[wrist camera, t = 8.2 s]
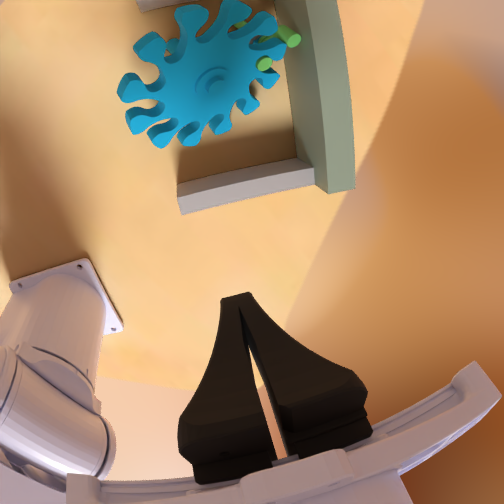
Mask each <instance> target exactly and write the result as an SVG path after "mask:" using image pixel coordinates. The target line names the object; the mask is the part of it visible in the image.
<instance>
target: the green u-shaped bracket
mask: <svg viewBox="0 0 504 504" xmlns="http://www.w3.org/2000/svg"><path fill="white" fill-rule="evenodd" d="M192 1H198V0H136V2H137V4H138V6H139V9H140V11H141V13H142V12H145V11H149V10H153V9H157V8H162V7H166V6H171V5H176V4H181V3H186V2H192ZM274 5H275V10H276V15H277V21H278V26H280V25H285V26H287V27H289V28H290V29H292V30H293V31H295V32H296V33H298V34H299V35H300V36H301V41H300V43H299V44H298V45H297V46H295V47H292V48H290V47H288V46H287V47H286V51H285V54H284V62H285V69H286V75H287V82H288V89H289V96H290V104H291V111H292V119H293V127H294V136H295V144H296V154H297V158H294V159H288V160H282V161H277V162H272V163H267V164H262V165H257V166H252V167H247V168H242V169H238V170H233V171H229V172H224V173H220V174H216V175H212V176H207V177H203V178H199V179H195V180H191V181H187V182H183V183H180V184H177V200H178V204H179V208H180V211H181V215H185V214H188V213H192V212H196V211H200V210H204V209H208V208H212V207H216V206H220V205H224V204H228V203H233V202H237V201H241V200H245V199H250V198H254V197H258V196H263V195H267V194H272V193H276V192H281V191H286V190H290V189H295V188H300V187H305V186H310V185H316V186H318V187H319V188H321V189H322V190H323V191H325V192H326V193H327V194H331V193H336V192H341V191H346V190H351V189H355V154H354V134H353V119H352V106H351V95H350V85H349V76H348V68H347V60H346V53H345V46H344V39H343V33H342V27H341V21H340V16H339V11H338V5H337V1H336V0H274Z"/></svg>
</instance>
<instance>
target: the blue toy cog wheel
mask: <svg viewBox="0 0 504 504" xmlns="http://www.w3.org/2000/svg"><path fill="white" fill-rule="evenodd" d="M251 13H252V9H251V8H250V7H249V6H248V5H246V4H244V3H242V2H241V1H239V0H223V2H222V3H221V5H220V11H219V14H218V16H217V18H216V20H215V21H214V23H213V24H212V25H211V26H210V28H209V29H208V30H207V31H206V32H205V33H204V34H202V35H201V36H199V37H195V36H196V33H197V31H198V30H199V29H200V28H201V27H202V26H203V25H204V24H205V23H206V21H207V20H208V17H209V12H208V10H207V9H205V8H204V7H202V6H200V5H197V4H191V5H186V6H182V7H178V8H177V9H176V11H175V13H174V18H175V20H176V21H177V23H178V25H179V28H180V39H177V38H173V39H170V40H169V41H168V42H167V44H166V42H165V40H164V39H163V38H162V37H160V36H159V35H158V34H157V33H156V32H153V31H152V32H150V33H148V34H146V35H145V36H143V37H142V38H141V39H140V40H139V41H138V42H136V43H135V45H134V46H133V50H134V52H135V53H136V54H137V55H138V56H139V58H140V59H141V60H143V61H145V62H150V63H153V64H155V65H157V67H158V69H159V72H160V75H159V78H158V79H157V80H156V81H155V82H154V83H152V84H148V85H146V84H144V83H143V82H142V80H141V79H140V78H139V76H138V75H137V74H135V73H126V74H125V75H124V76H123V77H122V79H121V81H120V83H119V86H118V89H117V94H118V96H119V97H120V99H121V101H123V102H125V103H131V102H134V101H137V100H141V99H154V100H158V101H159V102H158V104H157V105H156V106H155V107H153V108H151V109H144V108H141V107H133V108H130V109H129V110H127V111H126V114H125V118H126V122H127V124H128V127H129V128H130V130H131V132H132V134H133V135H136V134H139V133H141V132H143V131H144V130H145V129H147V128H148V127H149V126H150V125H152V124H154V123H156V122H158V121H160V120H163V119H168V118H171V119H170V120H169V121H167V122H166V123H162V124H157V125H154V126H153V127H151V128H150V129H149V130H148V131H147V135H148V136H149V138H150V140H151V141H152V143H153V144H154V145H155V146H157V147H158V148H164V147H165V146H166V145H168V143H169V142H170V140H171V139H172V137H173V136H174V135H175V134H176V133H177V132H178V131H179V130H180V129H181V128H182V129H181V130H180V131H179V132H178V134H177V138H178V139H179V141H180V142H181V144H182V145H184V146H196V145H197V144H198V143H199V141H200V139H201V134H202V131H203V129H204V127H205V126H206V124H207V123H208V122H209V121H210V122H209V127H210V128H211V130H212V131H213V132H214V133H215V135H219V134H222V133H225V132H227V131H229V130H230V129H231V127H232V123H231V122H230V117H229V116H230V111H231V109H232V106H233V104H234V103H235V102H236V101H237V104H236V105H237V107H238V108H239V109H240V110H241V111H242V112H243V113H244V114H245V115H247V114H249V113H251V112H252V111H254V110H255V109H256V108H258V107H259V105H260V102H259V101H258V100H257V99H256V98H255V97H254V96H253V95H252V94H250V92H249V85H250V83H251V82H252V81H253V80H254V79H256V80H257V81H258V82H259V83H260V84H261V85H262V86H263V87H264V88H266V89H270V88H271V87H272V86H273V85H274V84H275V83H276V81H277V80H278V79H279V77H280V75H279V74H278V73H277V72H276V71H274V70H273V69H272V68H271V67H270V66H271V65H272V60H274V61H278V60H281V59H282V58H283V56H284V54H285V51H286V47H287V46H288V47H290V48H292V47H295V46H297V45H298V44H299V43H300V41H301V36H300V35H299V34H298V33H296V32H295V31H293V30H292V29H290V28H289V27H287V26H285V25H280V26H278V24H277V21H276V19H275V17H274V16H272V15H271V14H269V13H267V12H266V11H261V12H259V13H257V14H256V15H255V16H254V17H253V18H252V19H251V20H250V21H249V22H248V23H247V22H245V21H244V20H245V19H247V18H248V17H249V16H250V15H251ZM232 25H234V27H236V28H237V30H235V31H232V32H230V33H228V30H229V28H230V27H231V26H232ZM166 49H167V50H168V51H169V52H170V53H171V54H172V55H170V56H167V57H164V54H165V50H166ZM189 123H190V124H189ZM187 124H189V125H187ZM186 125H187V126H186ZM184 126H185V127H184ZM183 127H184V128H183Z"/></svg>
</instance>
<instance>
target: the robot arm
mask: <svg viewBox="0 0 504 504" xmlns="http://www.w3.org/2000/svg"><path fill="white" fill-rule="evenodd" d="M78 264H80V265H81V266H82V267H79V266H78ZM20 284H22V285H20ZM9 288H10V290H11V291H12V293H13V295H12V296H11V298H10V300H9V302H8V303H7V305H6V307H5V309H4V311H3V313H2V314H1V316H0V504H413V503H412V500H411V498H410V496H409V494H408V493H407V491H406V488H405V486H404V484H403V483H402V480H401V478H400V475H401V474H403V473H405V472H407V471H408V470H410V469H412V468H413V467H415V466H417V465H418V464H420V463H422V462H423V461H425V460H426V459H428V458H429V457H431V456H432V455H433V454H435V453H437V452H438V451H440V450H441V449H443V448H444V447H446V446H447V445H448V444H449V443H451V442H452V441H454V440H455V439H457V438H458V437H459V436H461V435H462V434H463V433H465V432H466V431H467V430H469V429H470V428H471V427H472V426H474V425H475V424H476V423H477V422H479V421H480V420H481V419H482V418H483V417H484V415H486V414H487V413H488V412H489V410H490V409H491V408H492V407H493V406H494V405H495V404H496V403H497V402H498V401H499V399H500V398H501V397H502V395H501V394H500V392H499V391H498V389H497V388H496V387H495V386H494V384H493V383H492V382H491V380H490V379H489V377H488V376H487V375H486V374H485V372H484V371H483V370H482V368H481V367H480V366H479V365H478V363H477V362H476V361H473V362H472V363H470V364H469V365H467V366H466V367H464V368H463V369H462V370H460V371H459V372H458V373H457V374H456V375H455V376H454V377H453V379H452V381H451V383H450V384H448V385H446V386H445V387H444V388H442V389H440V390H438V391H437V392H435V393H434V394H432V395H430V396H429V397H427V398H425V399H423V400H422V401H420V402H418V403H416V404H414V405H413V406H411V407H409V408H407V409H405V410H403V411H401V412H399V413H398V414H396V415H394V416H392V417H390V418H387V419H385V420H383V421H381V422H379V423H377V424H375V425H373V426H371V425H370V423H369V421H368V419H367V417H366V416H367V412H366V411H365V409H364V404H365V401H366V398H367V394H368V391H367V389H366V387H365V385H364V384H363V382H362V381H361V380H360V379H359V377H357V375H356V374H355V373H354V372H353V371H352V370H350V369H347V368H345V367H342V366H340V365H338V364H335V363H333V362H331V361H329V360H327V359H325V358H323V357H321V356H320V355H318V354H316V353H314V352H313V351H311V350H309V349H307V348H306V347H305V346H303V345H302V344H300V343H299V342H298V341H296V340H295V339H294V338H292V337H291V336H290V335H288V334H287V333H286V332H285V331H284V330H283V329H282V328H280V327H279V326H278V325H277V324H276V323H275V322H274V321H273V320H272V319H271V318H270V317H269V316H268V315H267V314H266V313H265V311H264V310H263V309H262V308H261V307H260V305H259V304H258V303H257V302H256V300H255V299H254V297H253V296H252V294H251V293H250V292H245V293H242V294H238V295H234V296H230V297H226V298H222V299H221V301H220V304H221V309H220V320H219V326H218V332H217V336H216V340H215V344H214V348H213V352H212V355H211V358H210V361H209V363H208V366H207V369H206V371H205V373H204V376H203V378H202V380H201V382H200V384H199V386H198V388H197V390H196V392H195V394H194V396H193V397H192V399H191V401H190V402H189V404H188V405H187V407H186V408H185V410H184V411H183V413H182V415H181V416H180V418H179V424H178V436H177V438H178V448H179V453H180V454H181V455H182V456H183V457H184V458H185V459H186V460H187V461H189V462H190V463H191V464H192V466H193V472H194V476H193V477H185V478H175V479H162V480H142V481H104V479H105V478H106V477H107V475H108V474H109V472H110V470H111V468H112V465H113V463H114V459H115V454H116V438H115V434H114V431H113V428H112V426H111V424H110V423H109V422H108V421H107V420H106V419H105V418H104V417H102V416H100V414H101V401H99V400H98V399H97V398H96V397H95V395H94V392H95V383H96V376H97V369H98V362H99V356H100V350H101V344H102V338H103V335H107V334H112V333H116V332H121V331H123V328H124V325H123V323H122V321H121V320H120V318H119V316H118V314H117V313H116V311H115V309H114V307H113V305H112V303H111V302H110V300H109V298H108V296H107V294H106V292H105V290H104V288H103V286H102V284H101V282H100V280H99V278H98V276H97V274H96V272H95V270H94V268H93V266H92V264H91V262H90V260H88V259H87V258H83V259H79V260H76V261H73V262H69V263H66V264H63V265H60V266H57V267H53V268H50V269H47V270H44V271H41V272H38V273H35V274H32V275H29V276H26V277H23V278H20V279H17V280H14V281H11V282H10V284H9ZM112 327H114V328H112ZM248 345H249V346H248ZM249 348H250V350H251V353H252V355H253V358H254V360H255V363H256V365H257V367H258V370H259V372H260V375H261V377H262V379H263V382H264V384H265V387H266V390H267V393H268V396H269V399H270V403H271V406H272V409H273V412H274V415H275V419H276V422H277V425H278V428H279V431H280V434H281V438H282V441H283V444H284V447H285V450H286V453H287V457H286V458H282V459H279V460H278V458H277V455H276V452H275V448H274V445H273V442H272V438H271V435H270V432H269V428H268V425H267V421H266V418H265V415H264V412H263V408H262V405H261V402H260V398H259V395H258V392H257V388H256V385H255V380H254V374H253V369H252V363H251V357H250V352H249Z"/></svg>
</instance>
